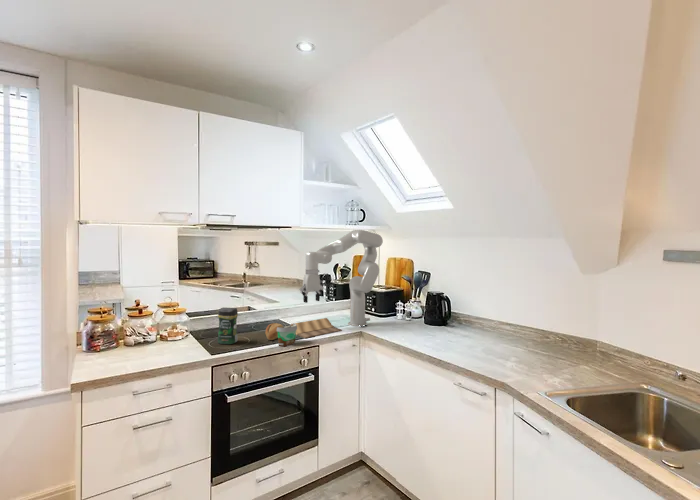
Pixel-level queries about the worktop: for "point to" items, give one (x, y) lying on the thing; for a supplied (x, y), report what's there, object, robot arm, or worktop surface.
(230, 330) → the coffee jar
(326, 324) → the oak board
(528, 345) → the worktop surface
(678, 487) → the worktop surface
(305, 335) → the walnut board
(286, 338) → the food container
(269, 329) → the bread roll
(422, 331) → the worktop surface
